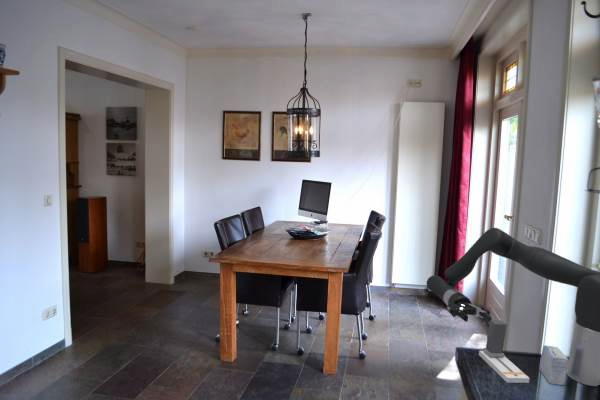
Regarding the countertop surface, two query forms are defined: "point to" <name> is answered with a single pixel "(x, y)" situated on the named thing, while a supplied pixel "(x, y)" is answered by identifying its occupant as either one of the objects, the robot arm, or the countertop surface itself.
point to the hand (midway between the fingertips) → (478, 319)
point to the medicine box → (553, 365)
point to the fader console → (505, 368)
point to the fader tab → (495, 339)
